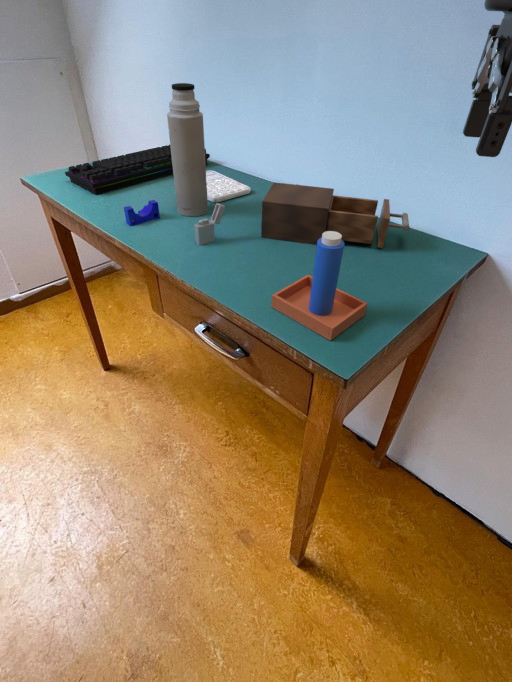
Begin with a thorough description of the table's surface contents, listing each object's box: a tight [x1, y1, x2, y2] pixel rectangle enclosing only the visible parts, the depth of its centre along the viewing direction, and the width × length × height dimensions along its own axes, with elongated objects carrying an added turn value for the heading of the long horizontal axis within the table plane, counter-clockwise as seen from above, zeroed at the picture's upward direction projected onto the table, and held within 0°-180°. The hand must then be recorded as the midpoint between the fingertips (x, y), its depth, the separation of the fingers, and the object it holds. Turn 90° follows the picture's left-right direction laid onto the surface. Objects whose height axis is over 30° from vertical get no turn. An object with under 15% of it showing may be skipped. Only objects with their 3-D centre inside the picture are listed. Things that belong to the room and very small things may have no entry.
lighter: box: [194, 202, 226, 246], centre depth 88 cm, size 7×2×8 cm, turn 125°
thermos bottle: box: [166, 82, 209, 217], centre depth 94 cm, size 8×8×28 cm
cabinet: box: [260, 182, 335, 246], centre depth 93 cm, size 15×13×9 cm
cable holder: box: [123, 199, 161, 227], centre depth 97 cm, size 8×4×4 cm, turn 129°
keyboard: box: [64, 144, 211, 196], centre depth 124 cm, size 42×16×5 cm, turn 137°
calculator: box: [206, 170, 252, 204], centre depth 115 cm, size 13×20×2 cm, turn 40°
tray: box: [271, 274, 369, 342], centre depth 70 cm, size 13×10×3 cm
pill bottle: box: [309, 231, 345, 316], centre depth 66 cm, size 4×4×14 cm
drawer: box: [326, 194, 410, 249], centre depth 91 cm, size 18×11×7 cm, turn 76°
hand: (478, 145), depth 44 cm, fingers open, 8 cm apart
